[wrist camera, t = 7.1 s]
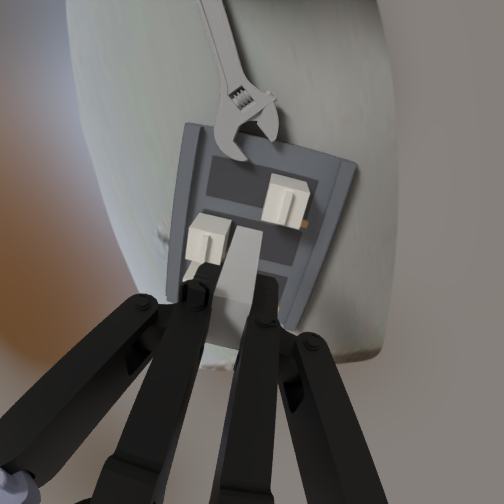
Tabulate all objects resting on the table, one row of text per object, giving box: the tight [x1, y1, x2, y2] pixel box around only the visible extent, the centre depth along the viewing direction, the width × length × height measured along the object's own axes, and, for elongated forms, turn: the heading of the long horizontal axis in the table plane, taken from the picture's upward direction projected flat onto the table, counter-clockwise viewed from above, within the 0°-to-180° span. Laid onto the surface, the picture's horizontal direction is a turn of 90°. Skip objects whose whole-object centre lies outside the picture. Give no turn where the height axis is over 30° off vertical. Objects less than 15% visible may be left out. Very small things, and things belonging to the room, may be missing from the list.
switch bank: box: [166, 123, 358, 331], centre depth 33 cm, size 22×18×2 cm
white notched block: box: [261, 173, 310, 229], centre depth 28 cm, size 4×4×5 cm
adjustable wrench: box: [196, 0, 279, 161], centre depth 23 cm, size 25×6×2 cm, turn 11°
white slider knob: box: [185, 213, 232, 265], centre depth 30 cm, size 4×4×5 cm
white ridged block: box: [183, 261, 201, 282], centre depth 33 cm, size 4×4×5 cm
